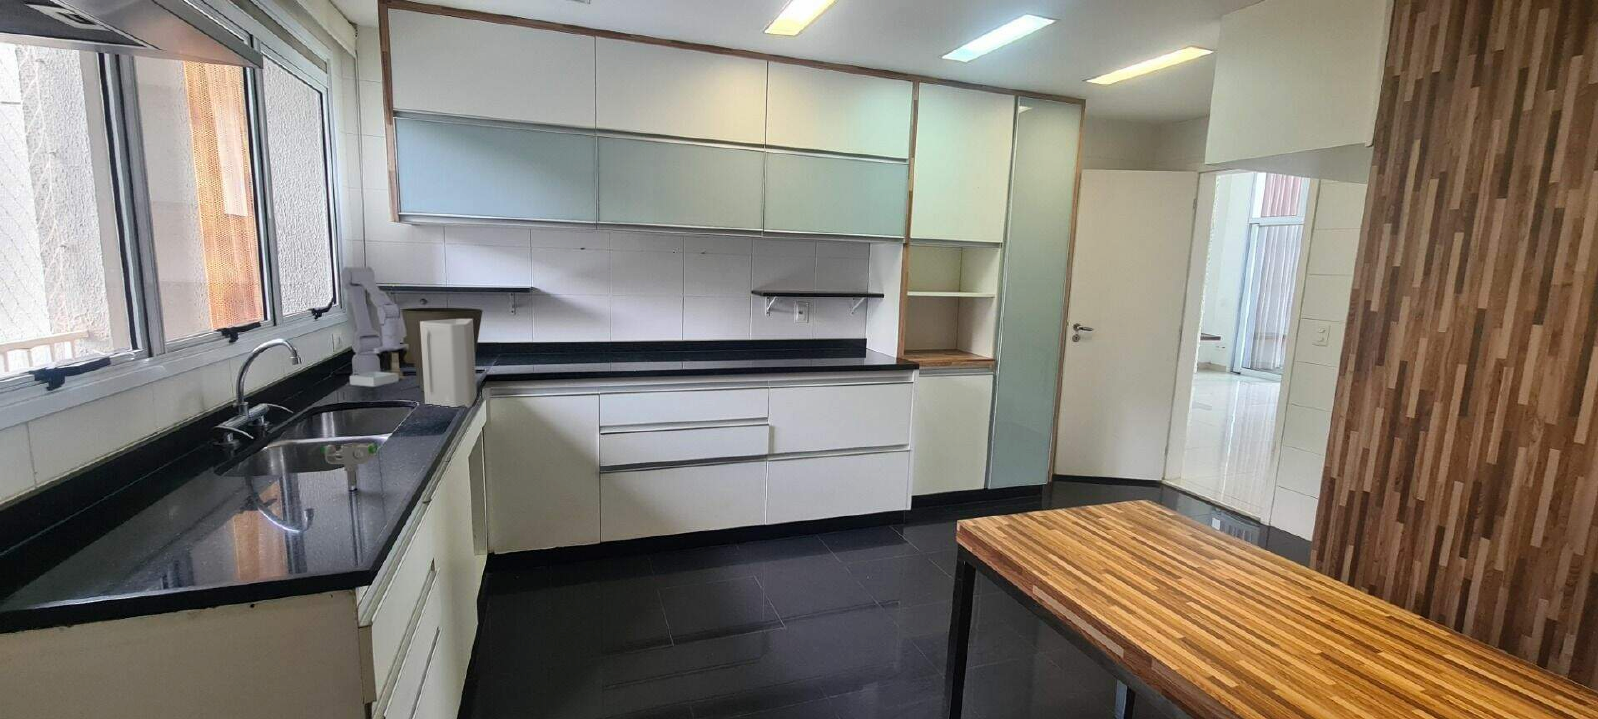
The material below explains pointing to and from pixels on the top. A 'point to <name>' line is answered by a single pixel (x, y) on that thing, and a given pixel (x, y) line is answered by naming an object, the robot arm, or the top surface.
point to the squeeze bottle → (408, 351)
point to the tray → (374, 379)
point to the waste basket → (417, 315)
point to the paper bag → (448, 362)
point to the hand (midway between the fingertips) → (393, 369)
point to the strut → (395, 365)
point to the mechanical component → (350, 457)
